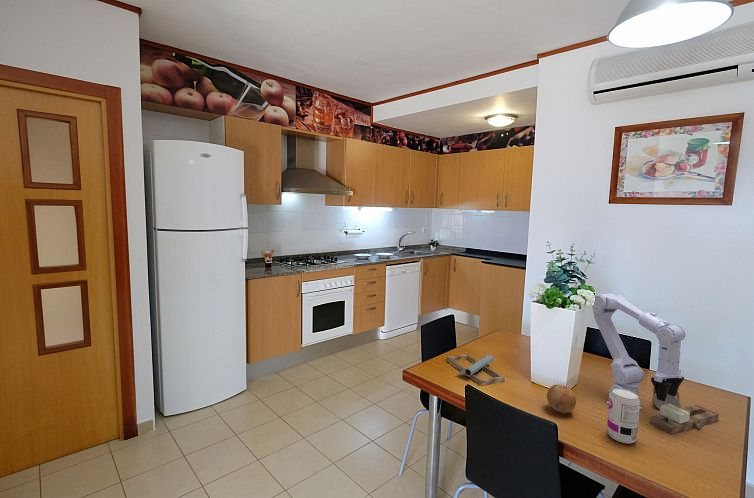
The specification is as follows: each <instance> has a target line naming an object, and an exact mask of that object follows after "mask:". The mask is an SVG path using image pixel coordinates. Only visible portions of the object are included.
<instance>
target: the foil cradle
mask: <svg viewBox="0 0 754 498" xmlns="http://www.w3.org/2000/svg"><path fill="white" fill-rule="evenodd" d="M462 359H464V360H467V359H468V360H467V361H469V360H470V361H471V363H472V362H473V363H476V362H477V361H478V360H477V359H475V358H474V357H472V356H470V355H469V354H460V355H454V356H446V359H445V361H446V362H447V363H448V362H449V363H450V364H449V363H448V364H449V365H451V366H452V365H453V366H452V367H453V368H454V369H456V368H457V369H456V370H458V371H459V372H460V371H462V370H465V369H466V368H465V367H463V365H460V364H459V363H458V362H457V361H462ZM455 360H457V361H455ZM470 361H469V362H470ZM473 363H472V364H473ZM482 369H483V370H482ZM482 369H481V370H482V371H483V372H485V371H486V373H487V374H488V373H489V375H490V376H492V378H491V377H490V378H486V379H485V378H484V379H481V378H480V377H478V376H477V375H475V373H474V374H472V375H471V376H468V379H470V378H471V379H470V380H472V381H473V382H474V383H476V384H477V385H478V386H480V387H482V386H487V385H488V386H490V385H494V384H500V383H505V379H506V378H505V377H504V375H501V374H500V373H499V372H496V370H493V369H492V368H490V367H489V366H488V365H486V366H484V367H483V368H482ZM465 376H466V377H467V375H465Z"/></svg>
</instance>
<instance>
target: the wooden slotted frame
mask: <svg viewBox="0 0 754 498" xmlns="http://www.w3.org/2000/svg"><path fill="white" fill-rule="evenodd" d="M680 409H683V410H685V411H687V412H689V413H690V418H689V421H687V422H684V423H678V422H675V421H672V422H668V418H667V417H665V416H663V415H661V414H660V413H659V414H654V415H650V416H649V417H650V418H649V424H650V425H653V426H655V427H656V428H658V429H660V430H662V431H664V432H666V433H668V434H670V435H675V434H678V433H681V432H685V431H688V430H691V429H698V430H701V429H702V428H703V426H705V425H708V424H712V423H715V422H718V421H719V416H720V414H719V413H717V412H714V411H712V410H709V409H708V408H705V407H702V406H700V405H698V404H693V405H689V406H685V407H681V408H680Z"/></svg>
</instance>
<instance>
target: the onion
mask: <svg viewBox="0 0 754 498" xmlns="http://www.w3.org/2000/svg"><path fill="white" fill-rule="evenodd" d="M546 400H547V402H548V405H549V406H550V407H551V408H552V409H553V410H554V411H555V412H558V413H561V414H568V413H571V412H572V411H573V410H575V408H576V404H577V398H576V395H575V393H574V391H573V390H572V389H571V388H570V387H568V386H567V385H565V384H561V383H560V384H559V383H558V384H553V385H551V386H550V387H549V388H548V390H547V392H546Z"/></svg>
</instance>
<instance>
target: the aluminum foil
mask: <svg viewBox="0 0 754 498" xmlns="http://www.w3.org/2000/svg"><path fill="white" fill-rule="evenodd" d="M493 361H494V356H493V355H491V354H487V355H486V356H484V357H483V358H481V359H479V360H477V362H476V363H474V364H473V363H472V364H470V366H468V367H466V368H465V370H462V371H459V372H457V374H461V375H463V376H466V375H467V376H471V375H472V374H474V375H475V373H476V372H479V371H480V370H482V369H481V368H483V367H484V366H488V365H490V363H492V362H493ZM467 376H466V377H467Z"/></svg>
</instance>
